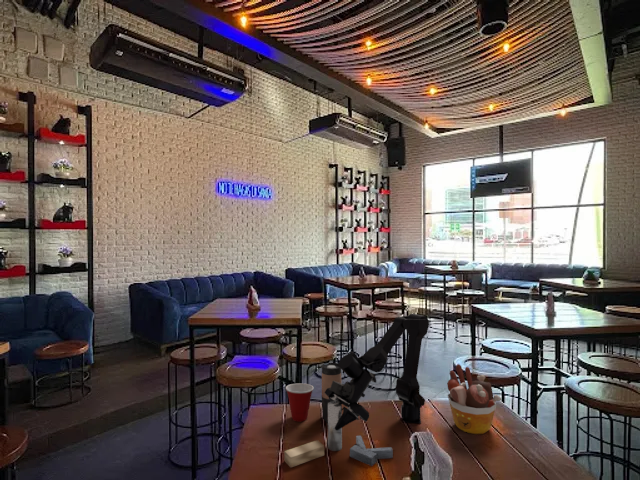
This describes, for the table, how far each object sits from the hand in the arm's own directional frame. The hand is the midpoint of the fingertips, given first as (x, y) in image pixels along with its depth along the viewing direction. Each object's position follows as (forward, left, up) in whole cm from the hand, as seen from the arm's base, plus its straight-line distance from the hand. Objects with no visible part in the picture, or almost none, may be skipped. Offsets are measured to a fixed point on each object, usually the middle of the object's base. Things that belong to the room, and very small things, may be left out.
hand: (331, 426), depth 122 cm
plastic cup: (+15, -19, -7) cm, 25 cm away
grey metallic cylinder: (-1, -1, -7) cm, 7 cm away
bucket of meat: (-48, -23, -7) cm, 54 cm away
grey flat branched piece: (-12, +2, -7) cm, 14 cm away
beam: (+7, +7, -7) cm, 12 cm away
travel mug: (+3, -21, -7) cm, 22 cm away
